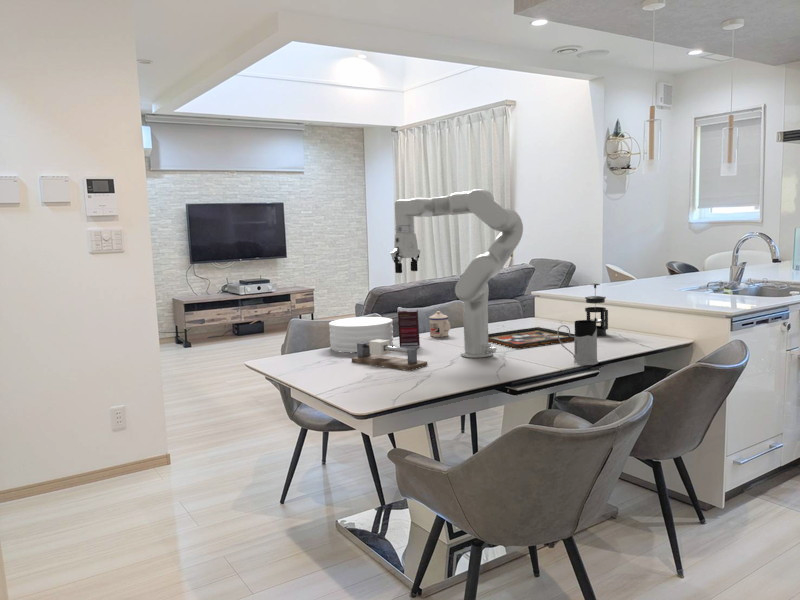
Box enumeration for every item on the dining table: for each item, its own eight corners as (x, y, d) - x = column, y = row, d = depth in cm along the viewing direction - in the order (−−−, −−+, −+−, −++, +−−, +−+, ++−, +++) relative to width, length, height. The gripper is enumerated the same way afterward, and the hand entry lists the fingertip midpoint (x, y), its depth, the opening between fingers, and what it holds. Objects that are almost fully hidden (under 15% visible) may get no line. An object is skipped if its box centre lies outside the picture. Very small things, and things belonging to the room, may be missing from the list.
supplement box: (420, 345, 276) (418, 309, 274) (419, 348, 271) (417, 311, 269) (400, 346, 276) (398, 310, 275) (399, 348, 272) (397, 311, 270)
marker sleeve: (390, 353, 244) (389, 340, 243) (381, 355, 240) (380, 342, 239) (378, 351, 248) (378, 339, 247) (369, 353, 244) (369, 341, 243)
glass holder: (599, 365, 224) (599, 323, 222) (558, 365, 226) (558, 323, 225) (596, 359, 232) (596, 319, 231) (557, 360, 235) (556, 320, 233)
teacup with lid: (425, 336, 300) (424, 311, 299) (439, 333, 306) (438, 309, 305) (443, 338, 291) (442, 313, 290) (457, 335, 297) (456, 311, 295)
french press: (579, 334, 287) (578, 283, 284) (593, 331, 292) (593, 282, 289) (599, 337, 277) (598, 285, 274) (614, 335, 282) (613, 283, 279)
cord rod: (418, 362, 234) (417, 346, 234) (410, 364, 231) (410, 348, 230) (365, 355, 252) (364, 340, 252) (357, 357, 249) (356, 342, 248)
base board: (427, 365, 235) (427, 361, 235) (410, 370, 228) (409, 366, 228) (369, 357, 255) (369, 353, 255) (351, 361, 248) (351, 358, 247)
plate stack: (320, 346, 285) (319, 321, 284) (375, 339, 299) (374, 315, 298) (346, 356, 261) (344, 328, 260) (405, 347, 275) (404, 321, 273)
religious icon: (531, 330, 305) (531, 324, 305) (588, 340, 275) (588, 333, 275) (469, 341, 285) (469, 335, 285) (523, 353, 256) (523, 346, 255)
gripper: (397, 230, 249) (399, 273, 250) (425, 229, 261) (427, 270, 263) (383, 231, 253) (385, 273, 255) (411, 229, 266) (413, 270, 268)
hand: (406, 272), depth 259 cm, fingers open, 9 cm apart
